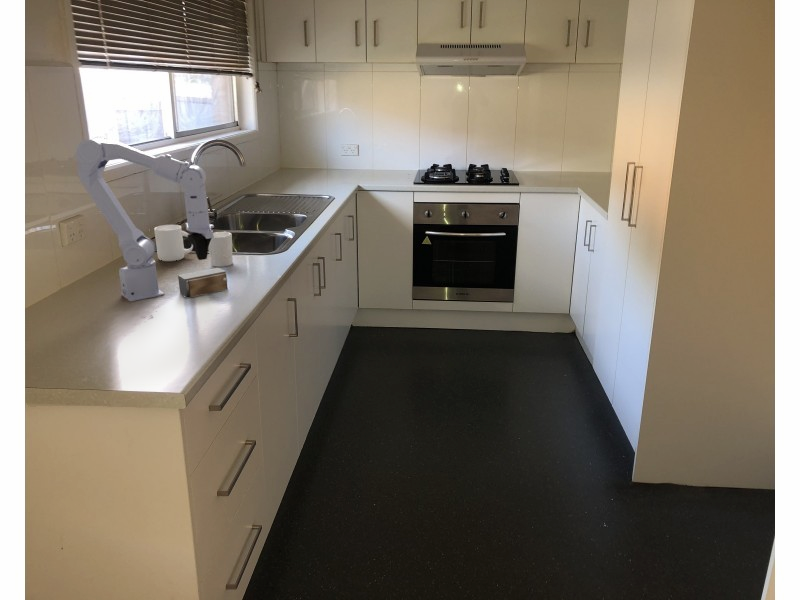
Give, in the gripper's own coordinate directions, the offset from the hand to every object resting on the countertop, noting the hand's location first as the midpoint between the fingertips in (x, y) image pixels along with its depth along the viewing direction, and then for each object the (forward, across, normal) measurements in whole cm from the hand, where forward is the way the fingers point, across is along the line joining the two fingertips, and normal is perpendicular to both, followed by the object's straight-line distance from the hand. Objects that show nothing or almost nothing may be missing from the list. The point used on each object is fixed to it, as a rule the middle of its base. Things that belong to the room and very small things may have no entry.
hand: (202, 259), depth 178 cm
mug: (+10, +42, -7) cm, 44 cm away
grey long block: (+10, +2, 0) cm, 10 cm away
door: (+10, -2, 0) cm, 10 cm away
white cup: (+10, +25, -16) cm, 31 cm away
